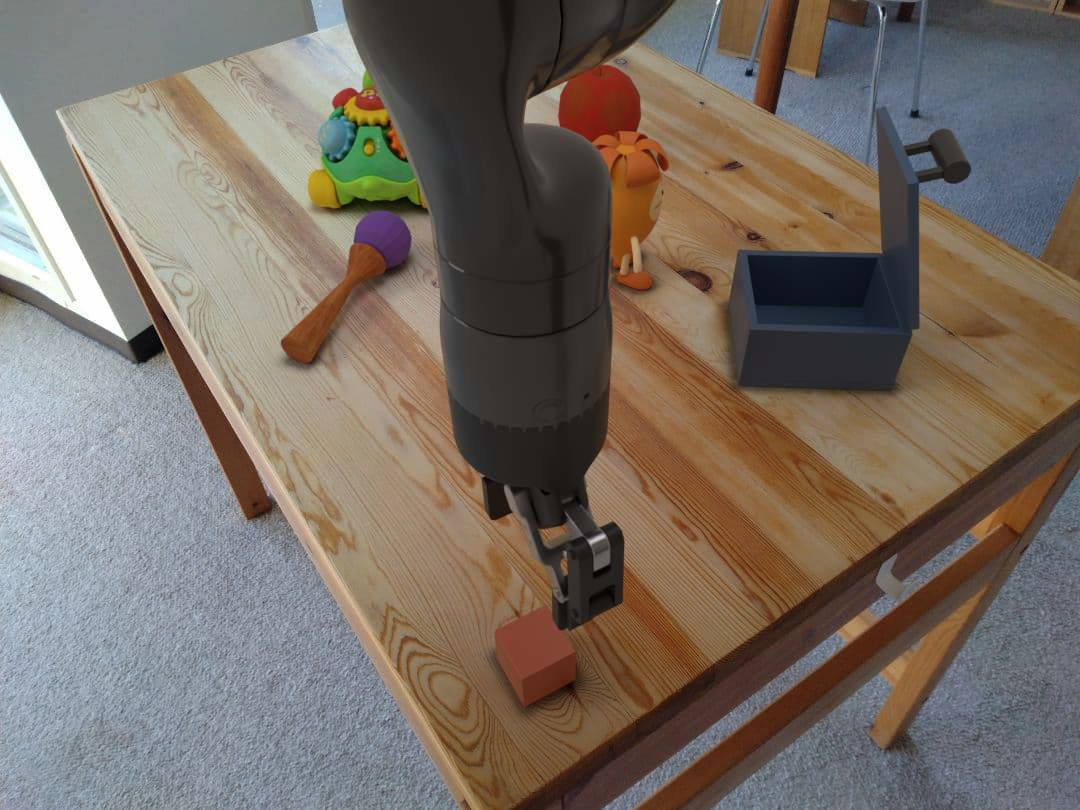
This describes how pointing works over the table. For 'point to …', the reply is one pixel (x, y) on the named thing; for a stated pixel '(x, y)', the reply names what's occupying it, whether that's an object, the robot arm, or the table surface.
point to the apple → (600, 104)
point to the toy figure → (633, 198)
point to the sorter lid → (909, 202)
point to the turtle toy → (361, 153)
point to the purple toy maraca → (352, 278)
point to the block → (535, 655)
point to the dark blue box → (816, 320)
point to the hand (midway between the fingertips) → (536, 562)
